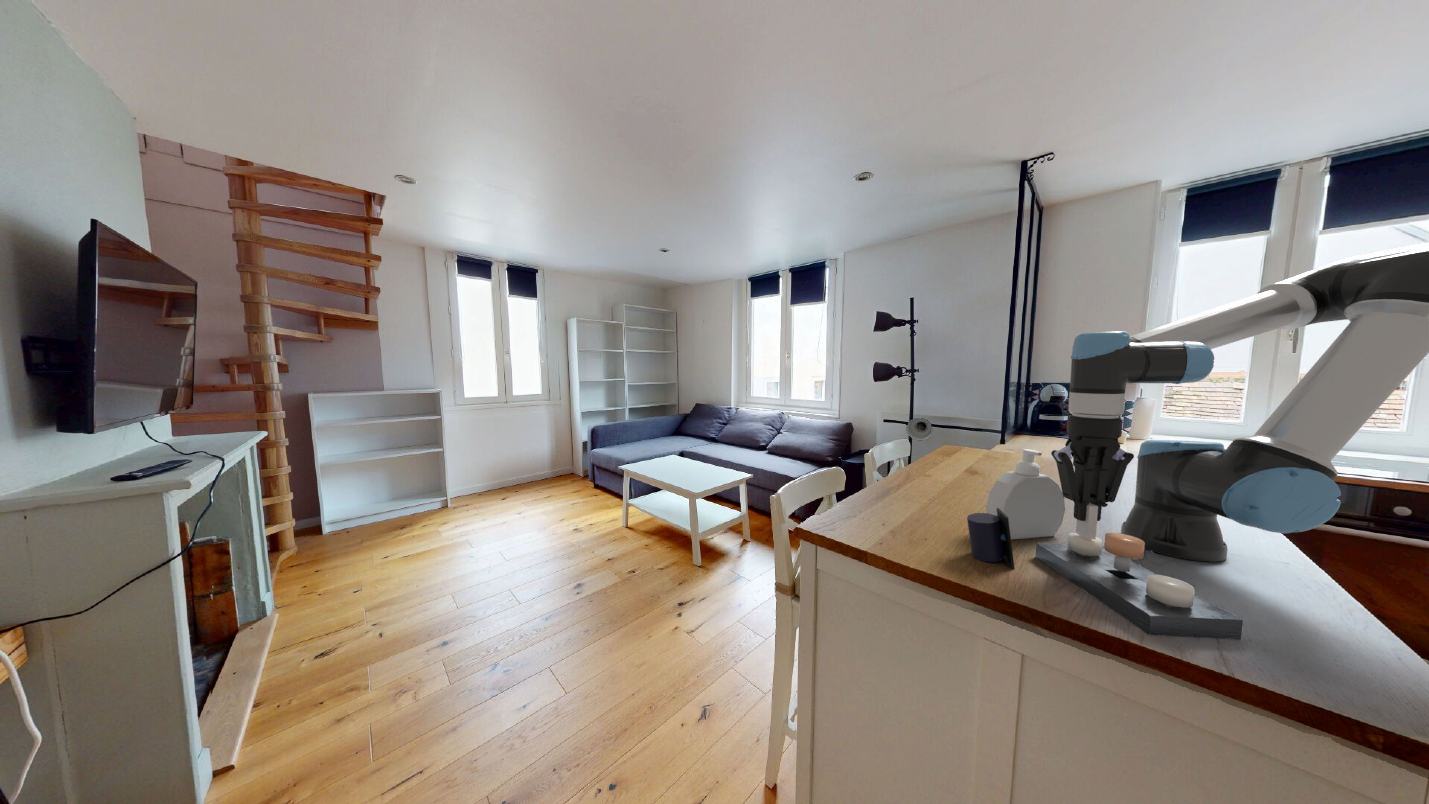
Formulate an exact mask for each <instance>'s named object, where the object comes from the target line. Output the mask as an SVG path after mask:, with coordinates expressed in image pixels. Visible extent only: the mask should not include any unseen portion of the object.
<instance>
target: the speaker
mask: <svg viewBox="0 0 1429 804" xmlns="http://www.w3.org/2000/svg"><path fill="white" fill-rule="evenodd" d="M966 519H967V527H968V535H969V541H970V550H971V551H970V552H971V556H972V557H973V558H974V559H978V560H980V561H982V562H983V561H984V562H990V563H996V562H1000V561H1002V560H1004V561H1005V562H1006V563H1007V564H1008V565H1009V567H1010V568H1011V569H1012V570H1015V562H1014V561H1015V560H1014V554H1013V545H1012V540H1011V536H1010V528H1009V520H1008V517H1007V516H1006V515H1005V514H1004V513H1003V512H1002V511H1001V510H1000V509H999V508H997V516H996V515H993V514H989V513H987V512H985V513H984V512H975V513H971V514H968V515H967V517H966Z"/></svg>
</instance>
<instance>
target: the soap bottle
mask: <svg viewBox="0 0 1429 804" xmlns="http://www.w3.org/2000/svg"><path fill="white" fill-rule="evenodd" d="M1042 454H1043V452H1041V451H1039V450H1034V449H1031V448H1030V449H1029V448H1023V449H1022V460H1020V461H1017V463H1015V469H1014V471H1013V470H1011V471H1006V472H1005V473H1003V475H1001V476H1000V477H999V478H997V479H996V481H995V483H994V484H993V485H992V487H991V488H990V491H989V493H988V497H987V498H988V499H987V502H986V513H989V514H993V515H996V516H997V508H999V509H1000V510H1001V511H1002V512H1003V513H1004V514H1005V515H1006V516H1007V517H1008V520H1009V528H1010V536H1011V541H1012V540H1022V539H1024V540H1025V539H1036V538H1046V537H1047V538H1048V537H1055V536H1056V535H1057V532H1059V530H1060V528H1061V526H1062V524H1063V521H1064V516H1065V511H1066V507H1065V506H1066V505H1065V497H1064V496H1063V493H1062V488H1061V486H1060V484H1059V483H1058V482H1057V481H1056V480H1054V479H1053V478H1052V477H1051V476H1050V475H1047V474H1042V473H1041V467H1040V465H1039V464H1038V463H1036V462H1035V456H1039V457H1041V456H1042Z"/></svg>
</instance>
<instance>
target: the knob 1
mask: <svg viewBox="0 0 1429 804" xmlns="http://www.w3.org/2000/svg"><path fill="white" fill-rule="evenodd" d="M1067 538H1068V539H1067V544H1068V548H1069V549H1070V550H1072V551H1074V552H1077V554H1079V555H1080V556H1086V557H1091V556H1100V555H1101V552H1102V546H1103V540H1102V539H1101V538H1099V537H1097V536H1096V540H1095V539H1086V538H1084V537H1082V536H1080V535H1078V534H1076V532H1069V533H1068V537H1067Z"/></svg>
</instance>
